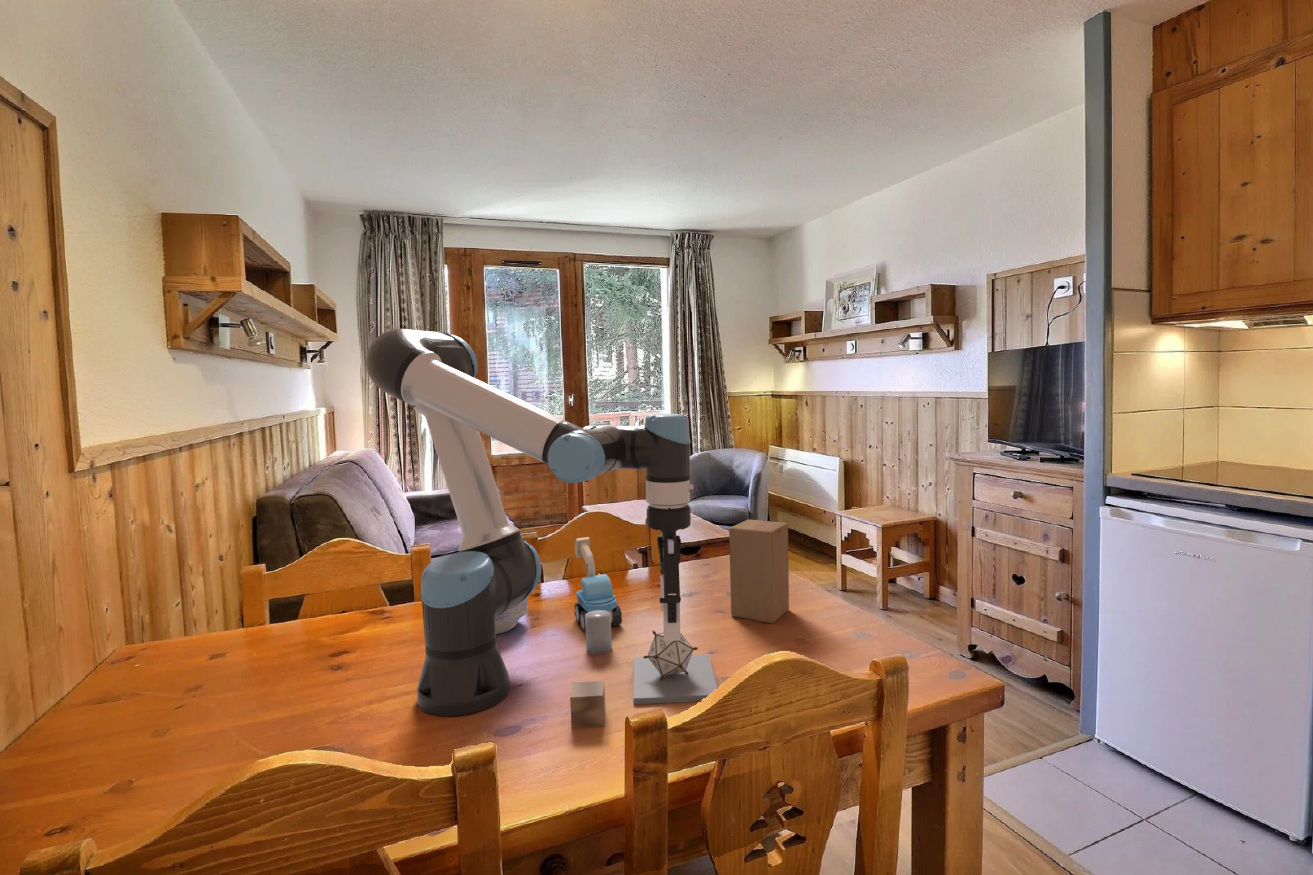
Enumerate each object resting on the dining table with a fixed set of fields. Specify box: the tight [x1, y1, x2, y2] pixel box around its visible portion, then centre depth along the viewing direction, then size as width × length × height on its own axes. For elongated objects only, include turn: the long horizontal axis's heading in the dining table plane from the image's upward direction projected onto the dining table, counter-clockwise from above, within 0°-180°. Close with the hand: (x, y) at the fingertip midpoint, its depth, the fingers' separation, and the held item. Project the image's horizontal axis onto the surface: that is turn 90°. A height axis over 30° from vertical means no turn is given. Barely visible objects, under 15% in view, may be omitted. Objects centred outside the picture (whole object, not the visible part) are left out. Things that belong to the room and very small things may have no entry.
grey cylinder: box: [585, 610, 613, 655], centre depth 129 cm, size 5×5×7 cm
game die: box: [642, 630, 699, 681], centre depth 115 cm, size 9×8×10 cm
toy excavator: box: [574, 536, 623, 632], centre depth 146 cm, size 9×17×17 cm, turn 21°
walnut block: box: [569, 680, 606, 729], centre depth 103 cm, size 5×5×5 cm
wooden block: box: [728, 519, 790, 624], centre depth 146 cm, size 10×10×20 cm
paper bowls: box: [495, 597, 529, 635], centre depth 143 cm, size 15×15×8 cm
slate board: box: [632, 653, 718, 705], centre depth 115 cm, size 14×16×1 cm
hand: (670, 624), depth 114 cm, fingers open, 13 cm apart
